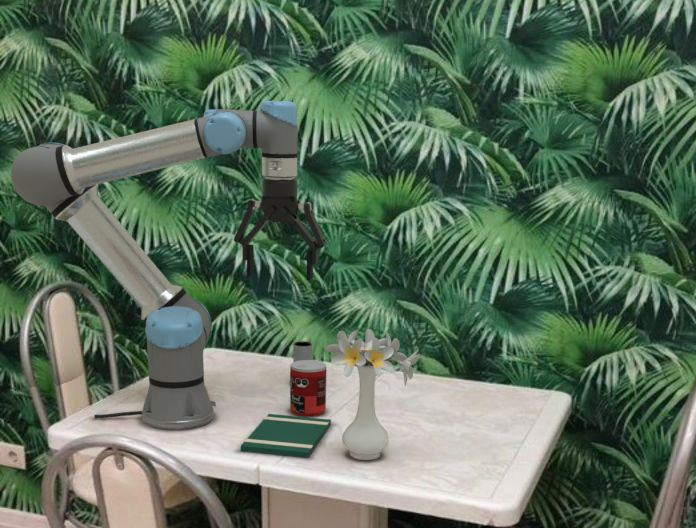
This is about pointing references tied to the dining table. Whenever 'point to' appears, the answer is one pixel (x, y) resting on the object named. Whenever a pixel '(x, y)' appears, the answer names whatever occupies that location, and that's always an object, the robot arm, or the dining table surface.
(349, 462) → the dining table surface
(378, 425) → the flower vase
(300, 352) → the grey cylinder
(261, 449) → the towel
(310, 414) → the canned food
